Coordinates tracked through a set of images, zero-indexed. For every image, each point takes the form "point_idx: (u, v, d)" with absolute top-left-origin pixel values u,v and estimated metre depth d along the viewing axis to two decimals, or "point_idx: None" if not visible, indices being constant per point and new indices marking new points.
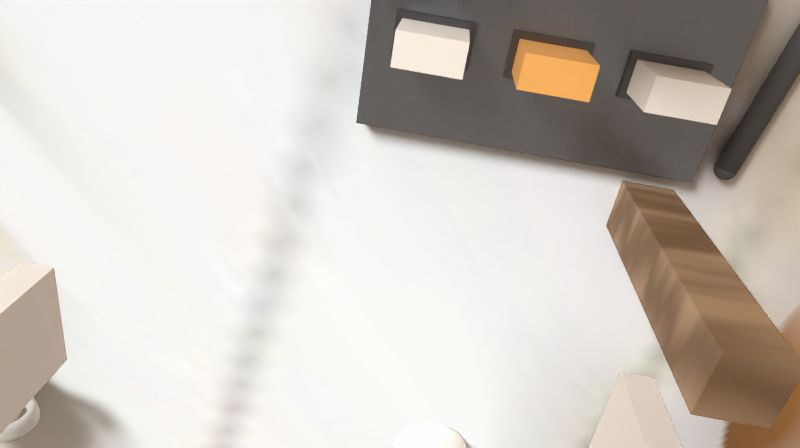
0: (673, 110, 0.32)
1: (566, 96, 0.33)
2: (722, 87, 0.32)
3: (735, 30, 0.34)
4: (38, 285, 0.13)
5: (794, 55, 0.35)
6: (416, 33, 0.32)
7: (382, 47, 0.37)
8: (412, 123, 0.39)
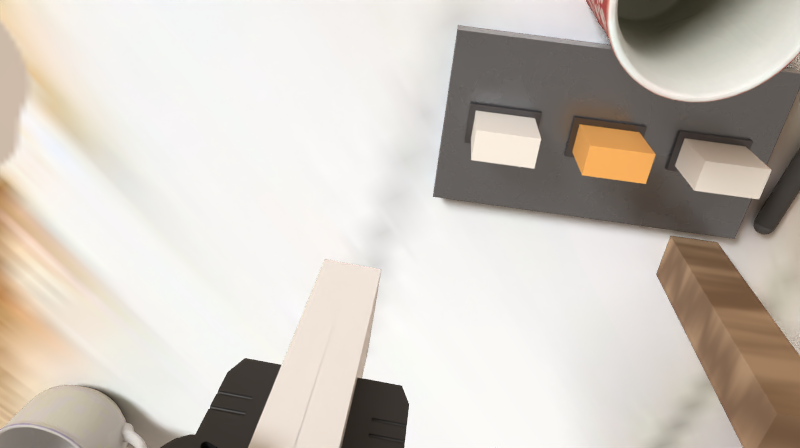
0: (720, 188, 0.37)
1: (625, 179, 0.38)
2: (763, 168, 0.37)
3: (771, 111, 0.39)
4: (348, 279, 0.15)
5: None
6: (494, 132, 0.37)
7: (457, 134, 0.42)
8: (483, 195, 0.44)
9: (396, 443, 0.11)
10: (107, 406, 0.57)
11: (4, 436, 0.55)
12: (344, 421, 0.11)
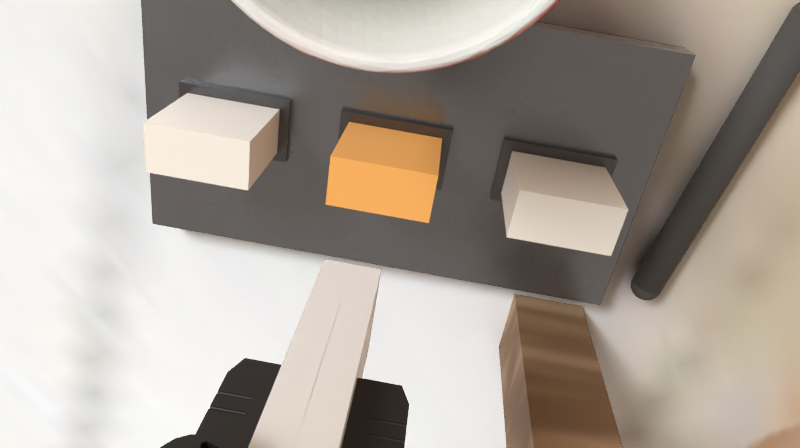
0: (548, 236, 0.23)
1: (396, 214, 0.23)
2: (615, 206, 0.22)
3: (645, 113, 0.24)
4: (349, 279, 0.15)
5: (729, 146, 0.25)
6: (173, 127, 0.22)
7: None
8: (225, 225, 0.29)
9: (396, 443, 0.11)
10: None
11: None
12: (344, 421, 0.11)
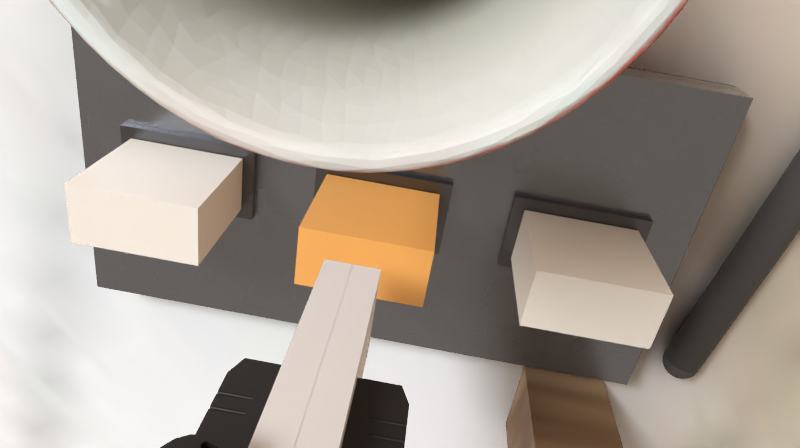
0: (571, 324, 0.18)
1: (382, 297, 0.18)
2: (657, 291, 0.17)
3: (687, 167, 0.20)
4: (348, 279, 0.15)
5: (789, 206, 0.20)
6: (102, 190, 0.18)
7: None
8: (183, 289, 0.24)
9: (396, 443, 0.11)
10: None
11: None
12: (344, 421, 0.11)
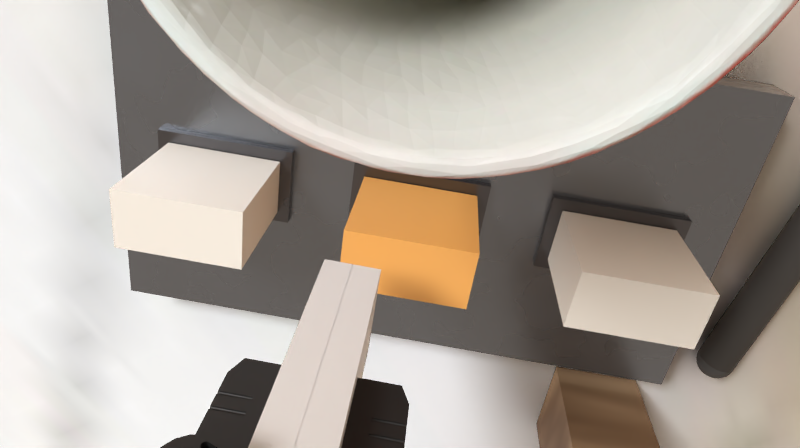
0: (616, 325, 0.18)
1: (425, 299, 0.18)
2: (703, 291, 0.17)
3: (727, 166, 0.20)
4: (349, 279, 0.15)
5: None
6: (147, 195, 0.18)
7: None
8: (216, 293, 0.24)
9: (396, 443, 0.11)
10: None
11: None
12: (344, 421, 0.11)
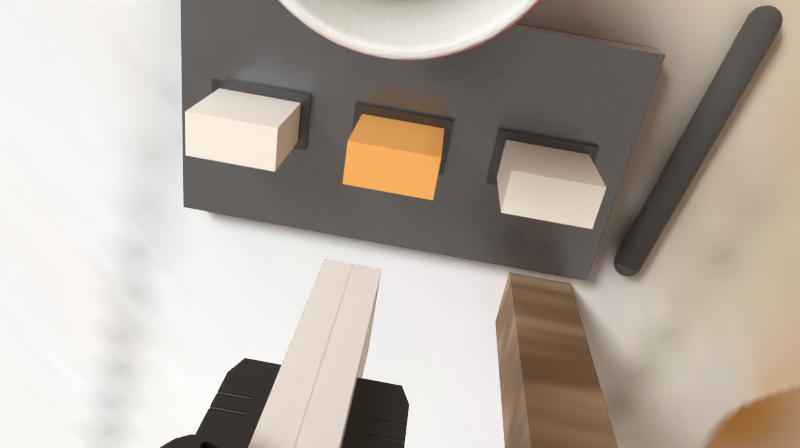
0: (537, 211, 0.26)
1: (404, 192, 0.26)
2: (595, 185, 0.25)
3: (622, 106, 0.28)
4: (349, 280, 0.15)
5: (697, 136, 0.28)
6: (211, 116, 0.25)
7: None
8: (249, 208, 0.32)
9: (396, 443, 0.11)
10: None
11: None
12: (344, 421, 0.11)
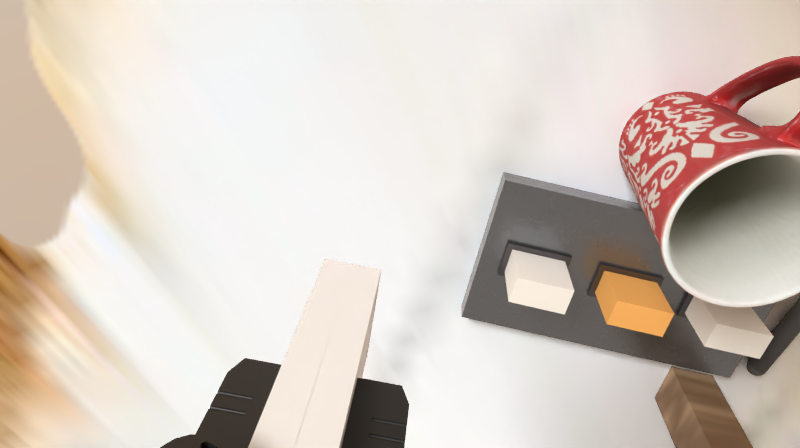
0: (727, 347, 0.42)
1: (645, 331, 0.42)
2: (766, 334, 0.41)
3: None
4: (348, 279, 0.15)
5: None
6: (533, 281, 0.41)
7: (491, 266, 0.45)
8: (508, 320, 0.47)
9: (396, 443, 0.11)
10: None
11: None
12: (344, 421, 0.11)
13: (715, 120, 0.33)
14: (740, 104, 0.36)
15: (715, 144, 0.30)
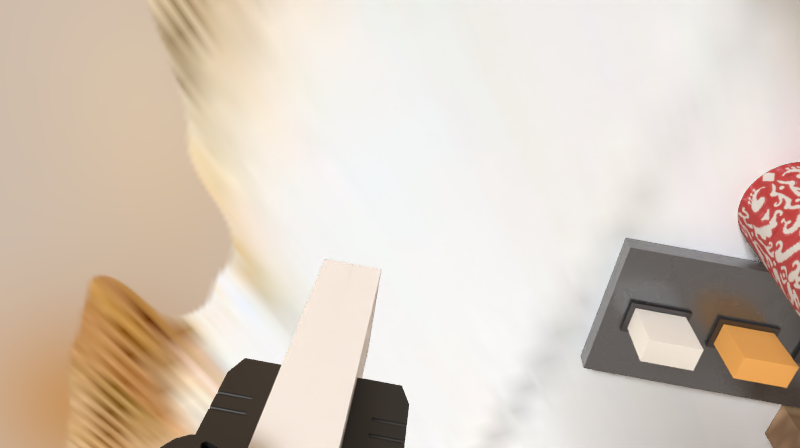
0: None
1: (770, 383, 0.45)
2: None
3: None
4: (348, 280, 0.15)
5: None
6: (664, 342, 0.44)
7: (614, 322, 0.49)
8: (628, 370, 0.51)
9: (396, 443, 0.11)
10: None
11: None
12: (344, 421, 0.11)
13: None
14: None
15: None
